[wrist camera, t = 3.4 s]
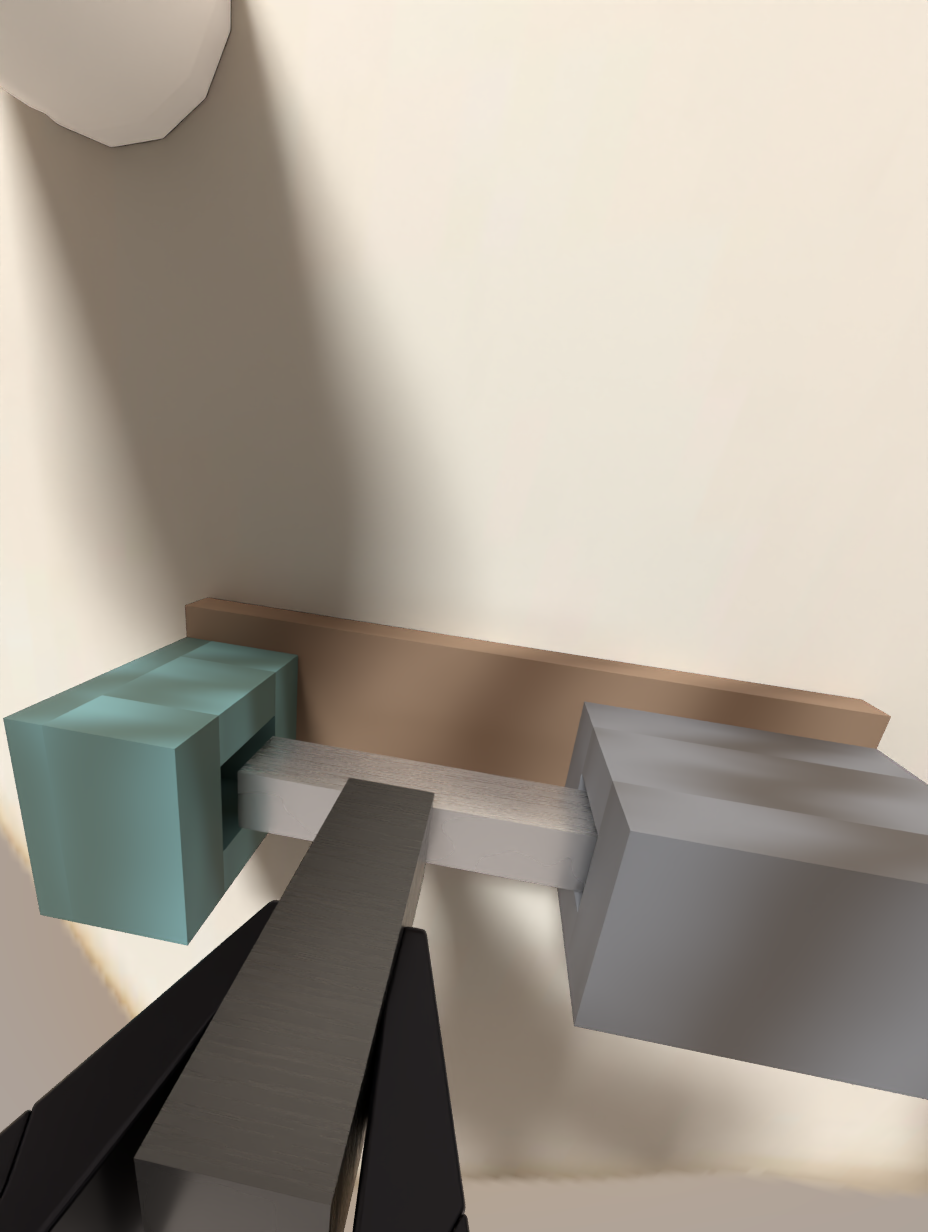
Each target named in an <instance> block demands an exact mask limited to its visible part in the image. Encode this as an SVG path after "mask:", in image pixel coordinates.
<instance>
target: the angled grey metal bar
mask: <svg viewBox="0 0 928 1232" xmlns="http://www.w3.org/2000/svg"><path fill="white" fill-rule="evenodd" d="M237 774H238V823H239V827H240V828H245V829H250V830H256V831H261V832H266V833H272V834H277V835H282V836H287V837H293V838H298V839H303V840H309V841H313V842H312V844H311V846H310V848H309V849H308V851H307V853H306V855H305V856H304V858H303V860H302V862H301V864H300V865H299V867H298V869H297V871H296V872H295V874H294V876H293V878H292V879H291V881H290V883H289V885H288V886H287V888H286V890H285V892H284V894H283V895H282V897H281V899H280V901H279V902H278V904H277V906H276V908H275V909H274V911H273V913H272V915H271V916H270V918H269V920H268V922H267V924H266V925H265V927H264V929H263V931H262V932H261V934H260V936H259V938H258V939H257V941H256V943H255V945H254V946H253V948H252V950H251V952H250V954H249V955H248V957H247V959H246V961H245V962H244V964H243V966H242V968H241V969H240V971H239V973H238V975H237V977H236V978H235V980H234V982H233V984H232V985H231V987H230V989H229V991H228V992H227V994H226V996H225V998H224V999H223V1001H222V1003H221V1005H220V1007H219V1008H218V1010H217V1012H216V1014H215V1015H214V1017H213V1019H212V1021H211V1022H210V1024H209V1026H208V1028H207V1029H206V1031H205V1033H204V1035H203V1037H202V1038H201V1040H200V1042H199V1044H198V1045H197V1047H196V1049H195V1051H194V1052H193V1054H192V1056H191V1058H190V1059H189V1061H188V1063H187V1065H186V1067H185V1068H184V1070H183V1072H182V1074H181V1075H180V1077H179V1079H178V1081H177V1082H176V1084H175V1086H174V1088H173V1089H172V1091H171V1093H170V1095H169V1097H168V1098H167V1100H166V1102H165V1104H164V1105H163V1107H162V1109H161V1111H160V1112H159V1114H158V1116H157V1118H156V1119H155V1121H154V1123H153V1125H152V1127H151V1128H150V1130H149V1132H148V1134H147V1135H146V1137H145V1139H144V1141H143V1142H142V1144H141V1146H140V1148H139V1150H138V1151H137V1153H136V1155H135V1157H134V1164H135V1171H136V1178H137V1185H138V1192H139V1200H140V1207H141V1214H142V1221H143V1228H144V1232H344V1228H345V1223H346V1219H347V1215H348V1210H349V1206H350V1201H351V1197H352V1192H353V1188H354V1184H355V1179H356V1175H357V1170H358V1166H359V1161H360V1157H361V1152H362V1148H363V1144H364V1139H365V1133H366V1125H367V1117H368V1110H369V1102H370V1095H371V1087H372V1079H373V1072H374V1064H375V1056H376V1049H377V1041H378V1034H379V1026H380V1020H381V1016H382V1012H383V1008H384V1004H385V1000H386V996H387V993H388V989H389V985H390V981H391V977H392V974H393V970H394V966H395V962H396V958H397V955H398V951H399V947H400V943H401V939H402V936H403V932H404V929H405V927H407V926H409V927H412V926H413V922H414V917H415V913H416V908H417V904H418V900H419V895H420V891H421V886H422V882H423V877H424V871H425V863H430V864H435V865H441V866H446V867H451V868H457V869H462V870H467V871H472V872H478V873H483V874H488V875H494V876H499V877H504V878H509V879H515V880H520V881H525V882H531V883H536V884H541V885H546V886H552V887H557V888H562V889H568V890H573V891H578V892H583V891H584V887H585V883H586V879H587V876H588V872H589V868H590V864H591V861H592V857H593V853H594V849H595V845H596V842H597V838H598V833H597V829H596V825H595V822H594V818H593V814H592V810H591V806H590V802H589V798H588V794H587V791H584V790H579V789H573V788H567V787H561V786H556V785H550V784H544V783H539V782H533V781H527V780H521V779H516V778H510V777H504V776H499V775H493V774H487V773H481V772H476V771H470V770H464V769H458V768H453V767H447V766H441V765H436V764H430V763H424V762H418V761H413V760H407V759H401V758H396V757H390V756H384V755H378V754H373V753H367V752H361V751H356V750H350V749H344V748H338V747H333V746H327V745H321V744H316V743H310V742H304V741H298V740H293V739H287V738H281V737H275V736H272V737H271V738H270V739H269V740H268V741H267V742H266V743H265V744H264V745H263V746H262V747H261V748H260V750H259V751H258V752H257V753H256V754H255V755H254V756H253V757H252V758H251V759H250V760H249V761H248V762H247V763H246V764H245V765H244V766H243V767H242V768H241V769H240V770H239V771H238V772H237Z"/></svg>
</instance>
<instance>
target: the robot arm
mask: <svg viewBox="0 0 928 1232" xmlns="http://www.w3.org/2000/svg"><path fill="white" fill-rule="evenodd" d="M278 902H279V900H273V901H271V902H269V903H268V904H267V905H266V906H264V907H263V908H262V909H261V910H260V911H259V912H257V913H256V914H255V915H254V916H253V917H252V918H250V919H249V920H248V921H247V922H246V923H245V924H243V925H242V926H241V927H240V928H239V929H238V930H236V931H235V932H234V933H233V934H232V935H231V936H229V937H228V938H227V939H226V940H225V941H224V942H222V943H221V944H220V945H219V946H218V947H217V948H215V949H214V950H213V951H212V952H211V953H210V954H208V955H207V956H206V957H205V958H204V959H203V960H201V961H200V962H199V963H198V964H197V965H196V966H194V967H193V968H192V969H191V970H190V971H189V972H187V973H186V974H185V975H184V976H183V977H182V978H180V979H179V980H178V981H177V982H176V983H175V984H173V985H172V986H171V987H170V988H169V989H168V990H167V991H165V992H164V993H163V994H162V995H161V996H160V997H158V998H157V999H156V1000H155V1001H154V1002H153V1003H151V1004H150V1005H149V1006H148V1007H147V1008H146V1009H144V1010H143V1011H142V1012H141V1013H140V1014H139V1015H137V1016H136V1017H135V1018H134V1019H133V1020H132V1021H130V1022H129V1023H128V1024H127V1025H126V1026H125V1027H123V1028H122V1029H121V1030H120V1031H119V1032H118V1033H116V1034H115V1035H114V1036H113V1037H112V1038H111V1039H109V1040H108V1041H107V1042H106V1043H105V1044H104V1045H102V1046H101V1047H100V1048H99V1049H98V1050H97V1051H95V1052H94V1053H93V1054H92V1055H91V1056H90V1057H88V1058H87V1059H86V1060H85V1061H84V1062H83V1063H81V1064H80V1065H79V1066H78V1067H77V1068H76V1069H75V1070H73V1071H72V1072H71V1073H70V1074H69V1075H67V1076H66V1077H65V1078H64V1079H63V1080H62V1081H61V1082H59V1083H58V1084H57V1085H56V1086H55V1087H54V1088H52V1089H51V1090H50V1091H49V1092H48V1093H47V1094H45V1095H44V1096H43V1097H42V1098H41V1099H40V1100H38V1101H37V1102H36V1103H35V1104H34V1106H33V1108H32V1111H31V1110H27V1111H25V1112H24V1113H23V1114H22V1115H21V1116H19V1117H18V1118H17V1119H16V1120H15V1121H14V1122H12V1123H11V1124H10V1125H9V1126H8V1127H7V1128H6V1129H4V1130H3V1131H2V1132H1V1133H0V1232H144V1228H143V1221H142V1214H141V1207H140V1200H139V1192H138V1185H137V1178H136V1171H135V1164H134V1157H135V1155H136V1153H137V1151H138V1150H139V1148H140V1146H141V1144H142V1142H143V1141H144V1139H145V1137H146V1135H147V1134H148V1132H149V1130H150V1128H151V1127H152V1125H153V1123H154V1121H155V1119H156V1118H157V1116H158V1114H159V1112H160V1111H161V1109H162V1107H163V1105H164V1104H165V1102H166V1100H167V1098H168V1097H169V1095H170V1093H171V1091H172V1089H173V1088H174V1086H175V1084H176V1082H177V1081H178V1079H179V1077H180V1075H181V1074H182V1072H183V1070H184V1068H185V1067H186V1065H187V1063H188V1061H189V1059H190V1058H191V1056H192V1054H193V1052H194V1051H195V1049H196V1047H197V1045H198V1044H199V1042H200V1040H201V1038H202V1037H203V1035H204V1033H205V1031H206V1029H207V1028H208V1026H209V1024H210V1022H211V1021H212V1019H213V1017H214V1015H215V1014H216V1012H217V1010H218V1008H219V1007H220V1005H221V1003H222V1001H223V999H224V998H225V996H226V994H227V992H228V991H229V989H230V987H231V985H232V984H233V982H234V980H235V978H236V977H237V975H238V973H239V971H240V969H241V968H242V966H243V964H244V962H245V961H246V959H247V957H248V955H249V954H250V952H251V950H252V948H253V946H254V945H255V943H256V941H257V939H258V938H259V936H260V934H261V932H262V931H263V929H264V927H265V925H266V924H267V922H268V920H269V918H270V916H271V915H272V913H273V911H274V909H275V908H276V906H277V904H278ZM464 1212H465V1199H464V1192H463V1185H462V1178H461V1171H460V1164H459V1157H458V1150H457V1143H456V1136H455V1129H454V1122H453V1115H452V1108H451V1101H450V1094H449V1087H448V1080H447V1073H446V1066H445V1059H444V1052H443V1045H442V1038H441V1031H440V1024H439V1017H438V1010H437V1002H436V995H435V988H434V981H433V974H432V967H431V960H430V953H429V946H428V939H427V934H426V931H425V930H423V929H419V928H414V927H409V926H407V927H405V929H404V932H403V936H402V939H401V943H400V947H399V951H398V955H397V958H396V962H395V966H394V970H393V974H392V977H391V981H390V985H389V989H388V993H387V996H386V1000H385V1004H384V1008H383V1012H382V1016H381V1020H380V1026H379V1034H378V1041H377V1049H376V1056H375V1064H374V1072H373V1079H372V1087H371V1095H370V1102H369V1110H368V1117H367V1125H366V1133H365V1140H364V1148H363V1156H362V1163H361V1171H360V1178H359V1186H358V1194H357V1202H356V1209H355V1217H354V1224H353V1232H469V1225H468V1219H467V1216H466V1215H465V1214H464Z"/></svg>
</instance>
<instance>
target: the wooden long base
mask: <svg viewBox="0 0 928 1232" xmlns="http://www.w3.org/2000/svg"><path fill="white" fill-rule="evenodd" d="M185 612H186V631H187V637H186V638H183V639H181V640H179V641H177V642H174V643H172V644H170V645H168V646H165V647H163V648H161V649H158V650H156V651H154V652H152V653H149V654H147V655H145V656H143V657H140V658H138V659H136V660H134V661H131V662H129V663H127V664H125V665H122V666H120V667H118V668H116V669H113V670H111V671H109V672H107V673H104V674H102V675H100V676H98V677H95V678H93V679H91V680H89V681H86V682H84V683H82V684H79V685H77V686H75V687H73V688H70V689H68V690H66V691H64V692H61V693H59V694H57V695H55V696H52V697H50V698H48V699H46V700H43V701H41V702H39V703H37V704H34V705H32V706H30V707H28V708H25V709H23V710H21V711H19V712H16V713H14V714H12V715H9V716H7V717H5V718H3V719H4V725H5V730H6V735H7V741H8V746H9V751H10V756H11V762H12V767H13V772H14V778H15V783H16V788H17V793H18V799H19V804H20V809H21V815H22V820H23V825H24V830H25V836H26V841H27V846H28V852H29V857H30V862H31V867H32V873H33V878H34V883H35V888H36V894H37V899H38V904H39V910H40V914H41V915H44V916H49V917H53V918H58V919H63V920H68V921H73V922H77V923H82V924H87V925H92V926H97V927H101V928H106V929H111V930H116V931H121V932H125V933H130V934H135V935H140V936H145V937H149V938H154V939H159V940H164V941H169V942H173V943H178V944H183V945H188V944H189V943H190V941H191V940H192V939H193V937H194V936H195V934H196V933H197V932H198V930H199V929H200V927H201V926H202V925H203V923H204V922H205V920H206V919H207V918H208V916H209V915H210V913H211V912H212V911H213V909H214V908H215V906H216V905H217V904H218V902H219V901H220V899H221V898H222V897H223V895H224V894H225V892H226V891H227V890H228V888H229V887H230V885H231V884H232V883H233V881H234V880H235V878H236V877H237V876H238V874H239V873H240V871H241V870H242V869H243V867H244V866H245V864H246V863H247V862H248V860H249V859H250V857H251V856H252V855H253V853H254V852H255V850H256V849H257V848H258V846H259V845H260V843H261V842H262V841H263V839H264V838H265V836H266V835H267V834H268V833H266V832H261V831H256V830H250V829H245V828H240V827H239V823H238V774H237V772H238V771H239V770H240V769H241V768H242V767H243V766H244V765H245V764H246V763H247V762H248V761H249V760H250V759H251V758H252V757H253V756H254V755H255V754H256V753H257V752H258V751H259V750H260V748H261V747H262V746H263V745H264V744H265V743H266V742H267V741H268V740H269V739H270V738H271V737H272V736H275V737H281V738H287V739H293V740H298V741H304V742H310V743H316V744H321V745H327V746H333V747H338V748H344V749H350V750H356V751H361V752H367V753H373V754H378V755H384V756H390V757H396V758H401V759H407V760H413V761H418V762H424V763H430V764H436V765H441V766H447V767H453V768H458V769H464V770H470V771H476V772H481V773H487V774H493V775H499V776H504V777H510V778H516V779H521V780H527V781H533V782H539V783H544V784H550V785H556V786H561V787H567V788H573V789H579V790H584V791H587V794H588V798H589V802H590V806H591V810H592V814H593V818H594V822H595V825H596V829H597V833H598V838H597V842H596V845H595V849H594V853H593V857H592V861H591V864H590V868H589V872H588V876H587V879H586V883H585V887H584V891H583V892H578V891H573V890H568V889H562V888H558V896H559V905H560V913H561V921H562V930H563V938H564V946H565V954H566V963H567V971H568V979H569V988H570V996H571V1004H572V1012H573V1021H574V1026H577V1027H581V1028H586V1029H591V1030H596V1031H601V1032H605V1033H610V1034H615V1035H620V1036H625V1037H629V1038H634V1039H639V1040H644V1041H649V1042H653V1043H658V1044H663V1045H668V1046H673V1047H677V1048H682V1049H687V1050H692V1051H697V1052H701V1053H706V1054H711V1055H716V1056H721V1057H725V1058H730V1059H735V1060H740V1061H745V1062H749V1063H754V1064H759V1065H764V1066H769V1067H773V1068H778V1069H783V1070H788V1071H793V1072H797V1073H802V1074H807V1075H812V1076H817V1077H821V1078H826V1079H831V1080H836V1081H841V1082H845V1083H850V1084H855V1085H860V1086H865V1087H869V1088H874V1089H879V1090H884V1091H889V1092H893V1093H898V1094H903V1095H908V1096H913V1097H917V1098H922V1099H927V1100H928V784H926V783H925V782H923V781H922V780H920V779H919V778H917V777H916V776H915V775H913V774H912V773H910V772H909V771H907V770H906V769H905V768H903V767H902V766H900V765H899V764H897V763H896V762H894V761H893V760H892V759H890V758H889V757H887V756H886V755H884V754H883V753H882V752H880V751H879V750H877V746H878V744H879V742H880V740H881V738H882V735H883V733H884V731H885V729H886V727H887V724H888V722H889V720H890V718H891V716H889V715H887V714H886V713H884V712H882V711H881V710H879V709H877V708H875V707H874V706H872V705H870V704H869V703H867V702H865V701H863V700H860V699H854V698H848V697H841V696H835V695H828V694H822V693H816V692H809V691H803V690H796V689H790V688H784V687H777V686H771V685H764V684H758V683H751V682H745V681H739V680H732V679H726V678H719V677H713V676H707V675H700V674H694V673H687V672H681V671H675V670H668V669H662V668H655V667H649V666H642V665H636V664H630V663H623V662H617V661H610V660H604V659H598V658H591V657H585V656H578V655H572V654H566V653H559V652H553V651H546V650H540V649H534V648H527V647H521V646H514V645H508V644H501V643H495V642H489V641H482V640H476V639H469V638H463V637H457V636H450V635H444V634H437V633H431V632H425V631H418V630H412V629H405V628H399V627H392V626H386V625H380V624H373V623H367V622H360V621H354V620H348V619H341V618H335V617H328V616H322V615H316V614H309V613H303V612H296V611H290V610H284V609H277V608H271V607H264V606H258V605H251V604H245V603H239V602H232V601H226V600H219V599H213V598H205V599H202V600H199V601H196V602H193V603H190V604H188V605H185Z"/></svg>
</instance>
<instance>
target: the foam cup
mask: <svg viewBox="0 0 928 1232" xmlns="http://www.w3.org/2000/svg"><path fill="white" fill-rule="evenodd" d="M230 30H231V0H0V88H2V89H3V90H5V91H6V92H8V93H9V94H11V95H12V96H14V97H16V98H17V99H19V100H20V101H22V102H23V103H25V104H26V105H28V106H29V107H31V108H34V109H36V110H38V111H41V112H43V113H45V114H46V115H47V116H49V117H50V118H51V119H52V120H53V121H55V122H56V123H57V124H58V125H61V126H63V127H65V128H68V129H70V130H72V131H75V132H77V133H79V134H81V135H84V136H86V137H88V138H91V139H93V140H95V141H98V142H100V143H102V144H105V145H107V146H109V147H116V146H122V145H128V144H133V143H139V142H145V141H151V140H157V139H162V138H164V137H165V136H166V135H167V134H168V133H169V132H170V131H171V130H172V129H173V128H174V127H175V126H177V125H178V124H179V123H180V122H181V121H182V120H183V119H184V118H185V117H186V116H187V115H188V114H189V113H190V112H191V111H192V110H193V109H194V108H195V107H197V106H198V105H199V104H200V103H201V102H202V101H203V100H204V99H205V98H206V95H207V93H208V90H209V87H210V84H211V82H212V79H213V76H214V74H215V71H216V68H217V66H218V63H219V60H220V57H221V55H222V52H223V49H224V47H225V44H226V41H227V38H228V36H229V33H230Z"/></svg>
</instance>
